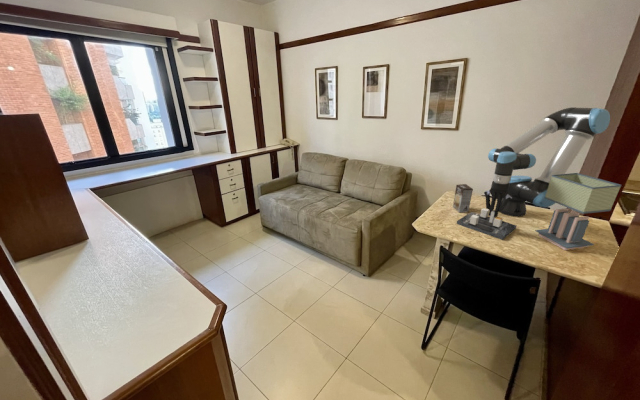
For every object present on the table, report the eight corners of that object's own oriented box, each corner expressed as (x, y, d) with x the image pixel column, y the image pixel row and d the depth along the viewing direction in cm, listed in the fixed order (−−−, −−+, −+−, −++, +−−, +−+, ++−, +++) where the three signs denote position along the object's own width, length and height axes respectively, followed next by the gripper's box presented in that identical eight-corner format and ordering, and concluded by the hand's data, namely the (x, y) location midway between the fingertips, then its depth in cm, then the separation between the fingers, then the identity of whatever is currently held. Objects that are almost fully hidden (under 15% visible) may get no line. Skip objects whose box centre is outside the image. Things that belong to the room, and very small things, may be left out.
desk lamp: (532, 233, 137) (551, 175, 124) (556, 230, 138) (577, 172, 125) (567, 252, 120) (592, 187, 107) (594, 249, 121) (622, 184, 108)
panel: (470, 214, 160) (471, 211, 159) (515, 228, 142) (516, 225, 141) (456, 223, 150) (457, 220, 149) (502, 240, 132) (503, 236, 131)
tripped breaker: (494, 223, 143) (496, 216, 141) (500, 225, 141) (502, 218, 139) (492, 225, 141) (494, 217, 140) (498, 227, 139) (500, 219, 137)
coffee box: (452, 206, 172) (455, 184, 166) (461, 206, 172) (465, 183, 165) (458, 212, 163) (463, 189, 157) (469, 212, 163) (473, 188, 157)
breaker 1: (472, 221, 146) (473, 214, 145) (477, 223, 144) (479, 216, 142) (469, 223, 145) (470, 216, 143) (475, 225, 143) (476, 218, 141)
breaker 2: (482, 214, 153) (483, 208, 152) (487, 216, 151) (489, 209, 150) (479, 216, 152) (481, 209, 150) (485, 218, 150) (486, 211, 148)
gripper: (484, 180, 136) (476, 219, 146) (512, 186, 127) (501, 228, 136) (490, 177, 140) (482, 215, 150) (518, 183, 131) (507, 223, 140)
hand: (491, 221), depth 143 cm, fingers closed
